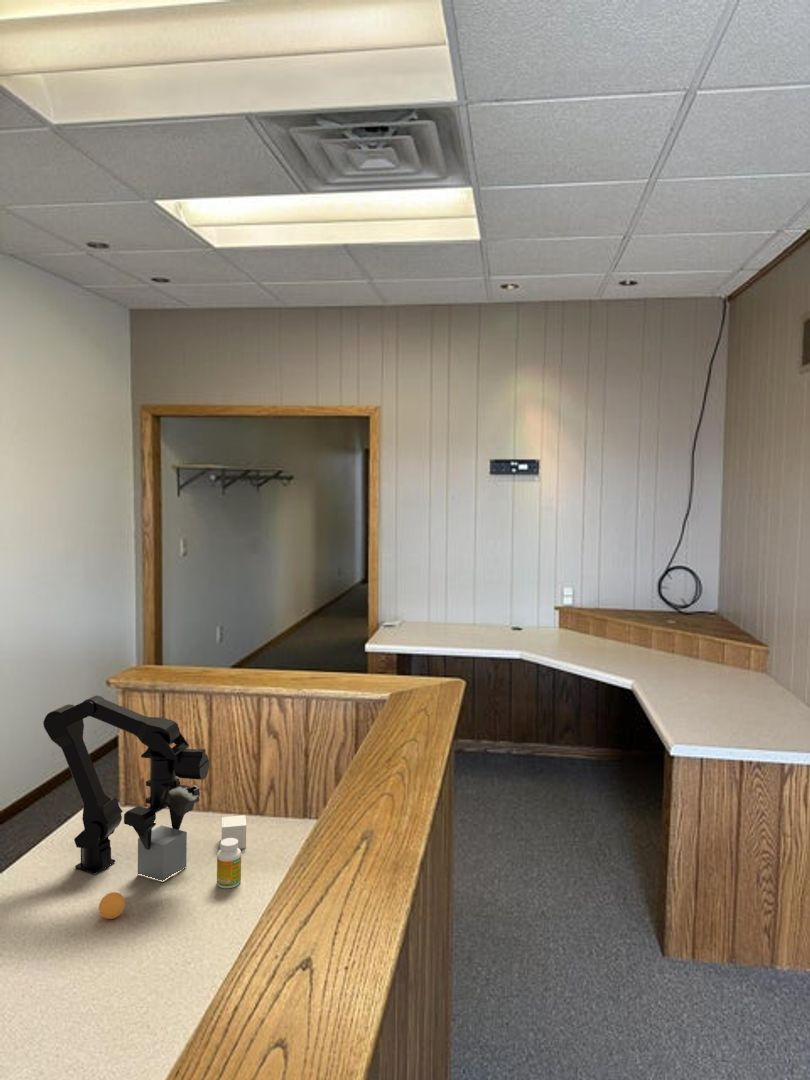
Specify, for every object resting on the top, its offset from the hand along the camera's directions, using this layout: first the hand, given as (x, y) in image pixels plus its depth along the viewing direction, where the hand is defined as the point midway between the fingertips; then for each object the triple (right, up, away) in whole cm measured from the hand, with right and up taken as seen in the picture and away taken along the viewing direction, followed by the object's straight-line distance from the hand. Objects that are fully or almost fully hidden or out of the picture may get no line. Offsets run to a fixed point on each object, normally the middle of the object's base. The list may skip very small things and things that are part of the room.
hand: (162, 841), depth 169 cm
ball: (-4, -6, -19) cm, 20 cm away
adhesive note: (+13, -7, +15) cm, 21 cm away
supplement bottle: (+17, -8, -4) cm, 19 cm away
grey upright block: (0, -7, 0) cm, 7 cm away
